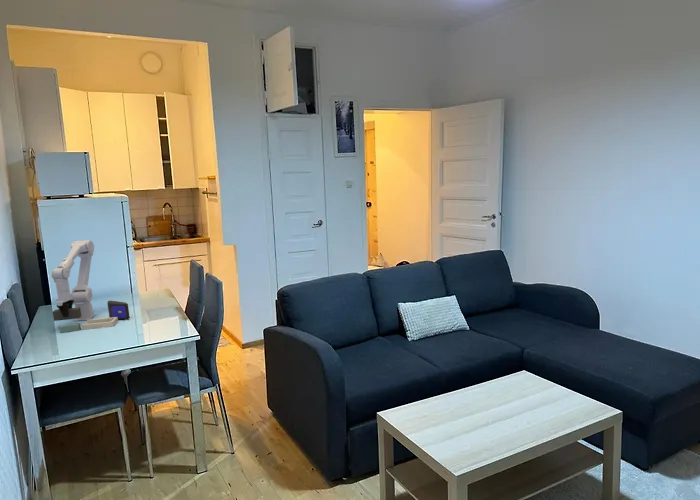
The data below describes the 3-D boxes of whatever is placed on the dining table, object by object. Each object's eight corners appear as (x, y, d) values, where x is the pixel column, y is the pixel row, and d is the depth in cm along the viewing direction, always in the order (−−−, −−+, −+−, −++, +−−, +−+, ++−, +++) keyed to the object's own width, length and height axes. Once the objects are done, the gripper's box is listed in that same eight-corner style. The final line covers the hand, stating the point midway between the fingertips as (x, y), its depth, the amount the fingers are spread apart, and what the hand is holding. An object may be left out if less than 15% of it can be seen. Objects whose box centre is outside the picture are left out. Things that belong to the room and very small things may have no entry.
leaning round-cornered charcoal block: (104, 318, 267) (102, 301, 265) (112, 316, 271) (109, 299, 269) (123, 321, 259) (120, 304, 257) (130, 319, 262) (128, 302, 261)
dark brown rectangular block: (57, 318, 254) (55, 309, 253) (81, 316, 256) (80, 307, 255) (53, 321, 250) (52, 311, 249) (78, 318, 252) (77, 309, 251)
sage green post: (59, 332, 244) (58, 327, 243) (60, 332, 245) (59, 326, 244) (81, 329, 247) (80, 323, 247) (81, 328, 248) (80, 323, 248)
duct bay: (88, 324, 256) (87, 319, 256) (118, 321, 259) (117, 316, 259) (82, 329, 248) (81, 325, 247) (113, 326, 250) (112, 321, 250)
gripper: (60, 288, 257) (64, 312, 259) (49, 294, 243) (53, 320, 245) (74, 286, 258) (78, 311, 261) (64, 293, 244) (68, 318, 246)
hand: (67, 315), depth 253 cm, fingers closed on dark brown rectangular block, 4 cm apart
